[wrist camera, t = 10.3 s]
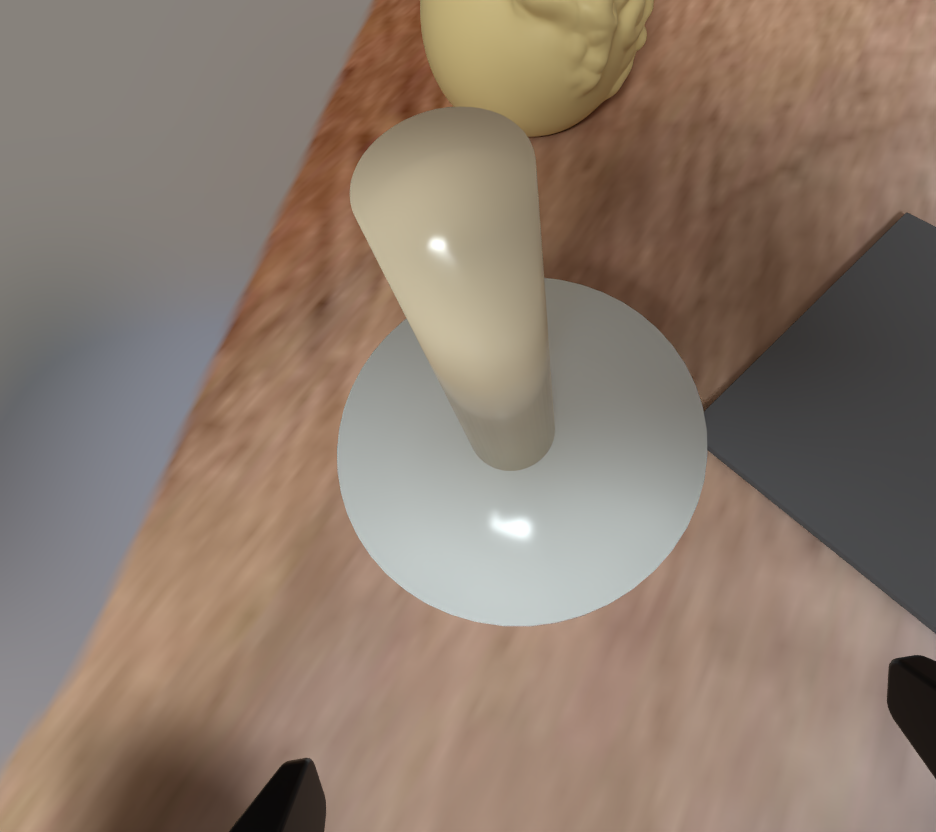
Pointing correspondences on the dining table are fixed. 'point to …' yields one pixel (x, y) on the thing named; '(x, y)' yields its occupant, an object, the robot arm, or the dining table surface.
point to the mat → (852, 418)
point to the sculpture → (533, 55)
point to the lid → (505, 395)
